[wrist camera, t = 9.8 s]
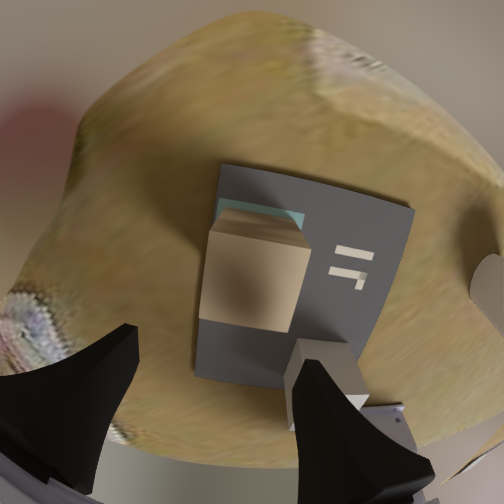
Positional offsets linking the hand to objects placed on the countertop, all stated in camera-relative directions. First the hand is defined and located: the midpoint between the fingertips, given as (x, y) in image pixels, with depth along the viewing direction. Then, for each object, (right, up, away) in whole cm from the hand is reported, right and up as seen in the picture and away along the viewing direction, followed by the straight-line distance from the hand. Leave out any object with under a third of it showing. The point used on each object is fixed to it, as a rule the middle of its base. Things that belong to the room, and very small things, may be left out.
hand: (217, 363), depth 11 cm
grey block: (+7, -5, +11) cm, 13 cm away
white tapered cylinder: (+25, +2, +9) cm, 27 cm away
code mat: (+5, +1, +9) cm, 11 cm away
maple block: (+2, +5, +7) cm, 9 cm away
